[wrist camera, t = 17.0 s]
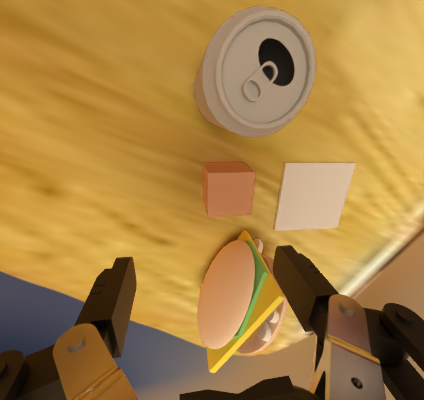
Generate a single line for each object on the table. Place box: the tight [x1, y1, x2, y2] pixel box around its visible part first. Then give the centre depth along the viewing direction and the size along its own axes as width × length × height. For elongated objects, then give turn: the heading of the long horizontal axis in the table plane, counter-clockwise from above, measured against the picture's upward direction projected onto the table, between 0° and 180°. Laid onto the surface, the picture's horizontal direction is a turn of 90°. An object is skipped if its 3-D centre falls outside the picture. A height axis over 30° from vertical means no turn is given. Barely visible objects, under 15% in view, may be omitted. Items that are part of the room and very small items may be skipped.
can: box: [194, 6, 316, 137], centre depth 18 cm, size 8×8×12 cm
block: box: [203, 162, 255, 217], centre depth 25 cm, size 5×5×5 cm
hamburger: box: [197, 230, 288, 373], centre depth 27 cm, size 12×8×12 cm
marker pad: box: [273, 162, 356, 231], centre depth 30 cm, size 10×10×1 cm
